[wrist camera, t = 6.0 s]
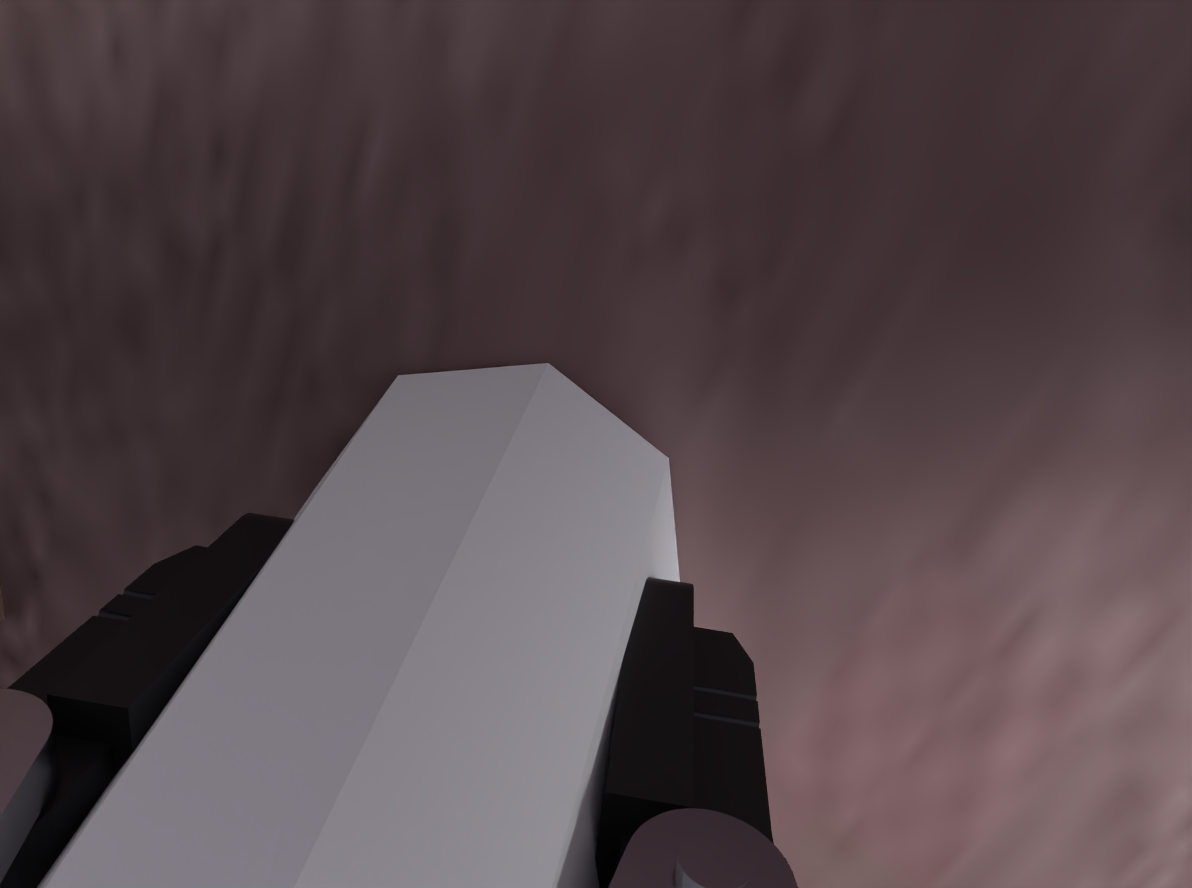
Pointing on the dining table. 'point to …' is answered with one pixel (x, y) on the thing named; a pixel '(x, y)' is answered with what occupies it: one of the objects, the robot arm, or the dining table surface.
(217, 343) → the dining table surface
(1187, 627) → the dining table surface
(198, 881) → the pepper shaker
